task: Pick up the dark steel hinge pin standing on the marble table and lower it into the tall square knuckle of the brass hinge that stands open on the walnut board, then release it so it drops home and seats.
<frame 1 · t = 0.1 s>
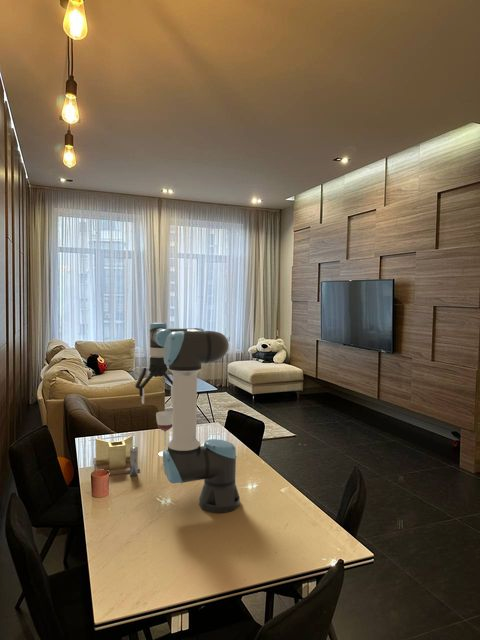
hand: (157, 402, 205), 28 cm above the table, fingers open, 13 cm apart
pin: (133, 475, 190), on the table
board: (115, 465, 200), on the table
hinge: (116, 468, 197), resting on board
wineglass: (164, 454, 216), on the table
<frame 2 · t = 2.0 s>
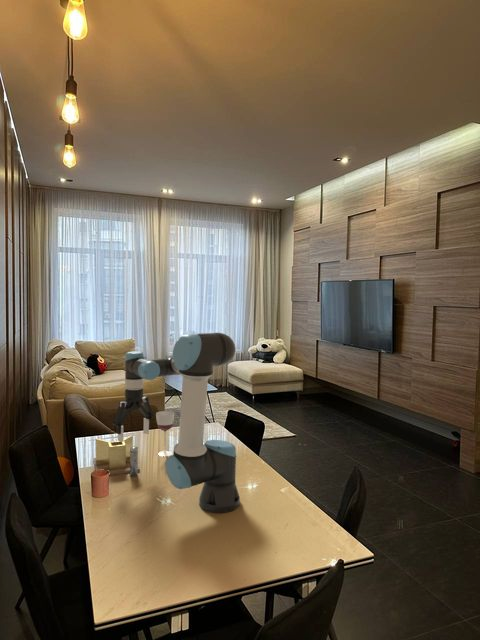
hand: (133, 437, 190), 16 cm above the table, fingers open, 13 cm apart
nothing on the table moved.
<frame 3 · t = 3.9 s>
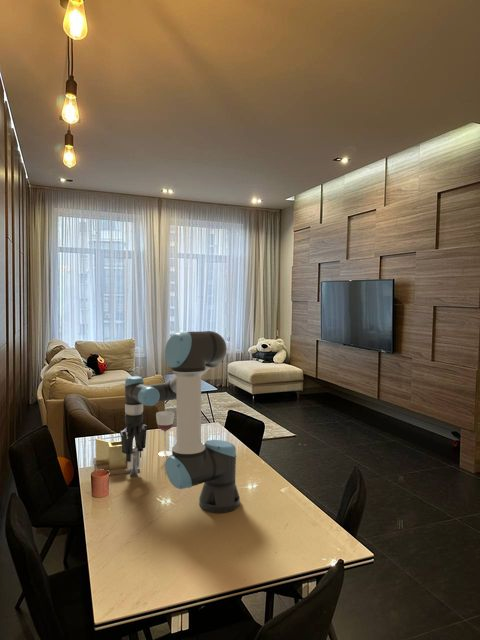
hand: (133, 466, 190), 4 cm above the table, fingers closed on pin, 3 cm apart
pin: (133, 475, 190), on the table, touching gripper
everything else where it was.
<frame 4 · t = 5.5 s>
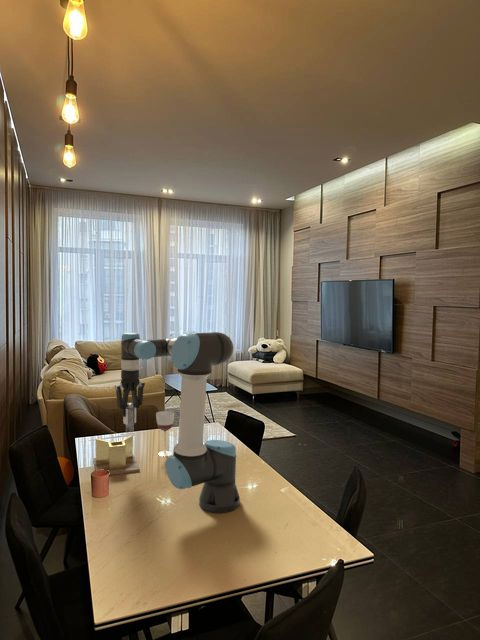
hand: (129, 422, 191), 22 cm above the table, fingers closed on pin, 3 cm apart
pin: (129, 431, 191), point 18 cm above the table, touching gripper
everything else where it was.
when the fingers open (13 cm above the table, at t = 7.5 s): pin drops 8 cm, resting on board.
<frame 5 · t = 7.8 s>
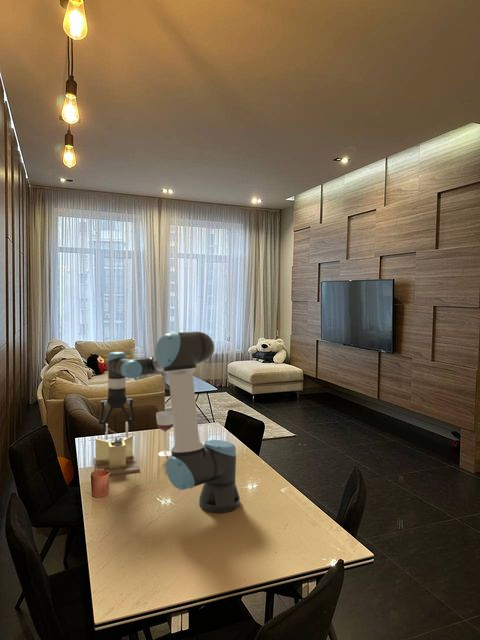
hand: (116, 437, 196), 14 cm above the table, fingers open, 8 cm apart
pin: (116, 465, 197), point 1 cm above the table, touching board
everything else where it was.
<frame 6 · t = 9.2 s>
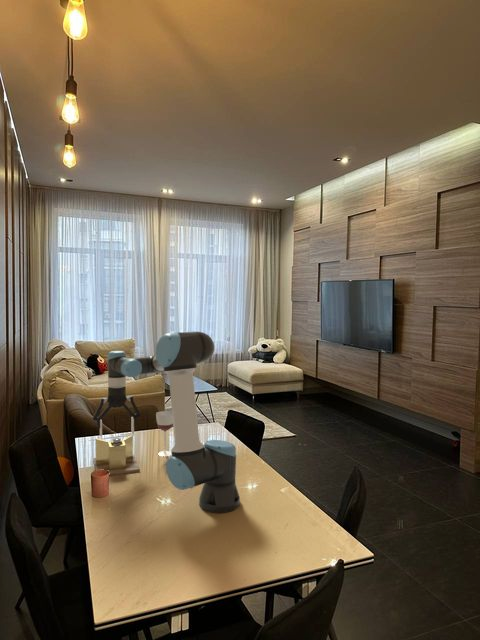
hand: (116, 433, 196), 16 cm above the table, fingers open, 13 cm apart
nothing on the table moved.
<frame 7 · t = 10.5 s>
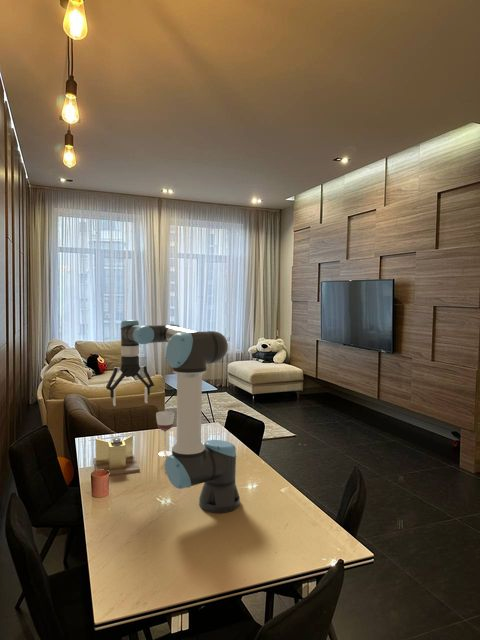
hand: (130, 404, 193), 30 cm above the table, fingers open, 13 cm apart
nothing on the table moved.
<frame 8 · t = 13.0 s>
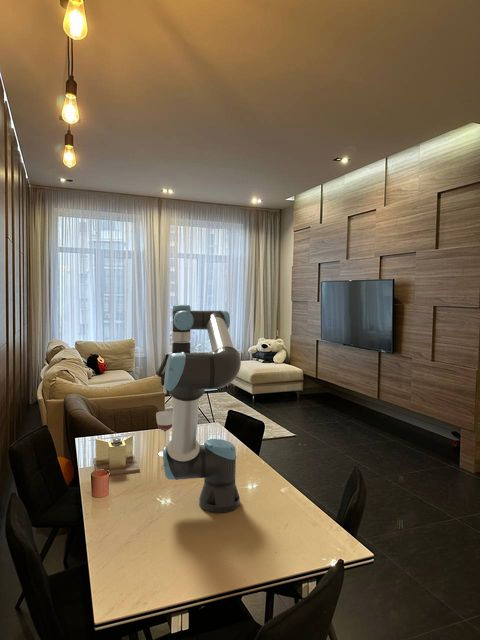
hand: (180, 392, 187), 37 cm above the table, fingers open, 13 cm apart
nothing on the table moved.
at the end: pin 0.0 cm off-centre on the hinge, point 1.2 cm above the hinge's base; pin tilted 0°; the gripper is holding nothing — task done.
